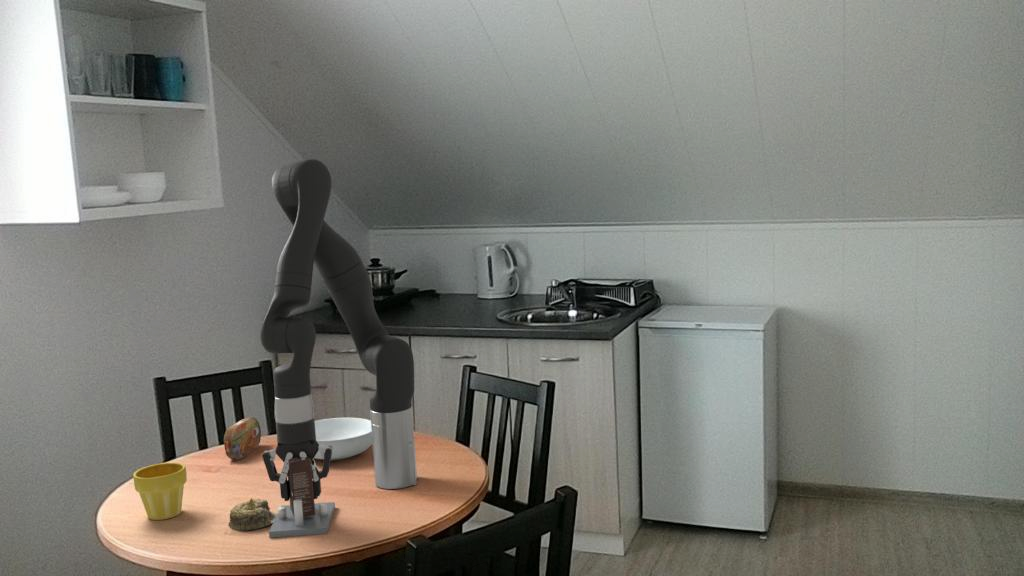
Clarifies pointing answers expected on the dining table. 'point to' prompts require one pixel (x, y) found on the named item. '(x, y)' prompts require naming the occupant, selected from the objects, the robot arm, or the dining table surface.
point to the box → (301, 485)
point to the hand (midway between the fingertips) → (301, 498)
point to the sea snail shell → (251, 515)
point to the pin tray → (308, 521)
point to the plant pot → (161, 489)
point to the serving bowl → (343, 436)
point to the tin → (242, 438)
